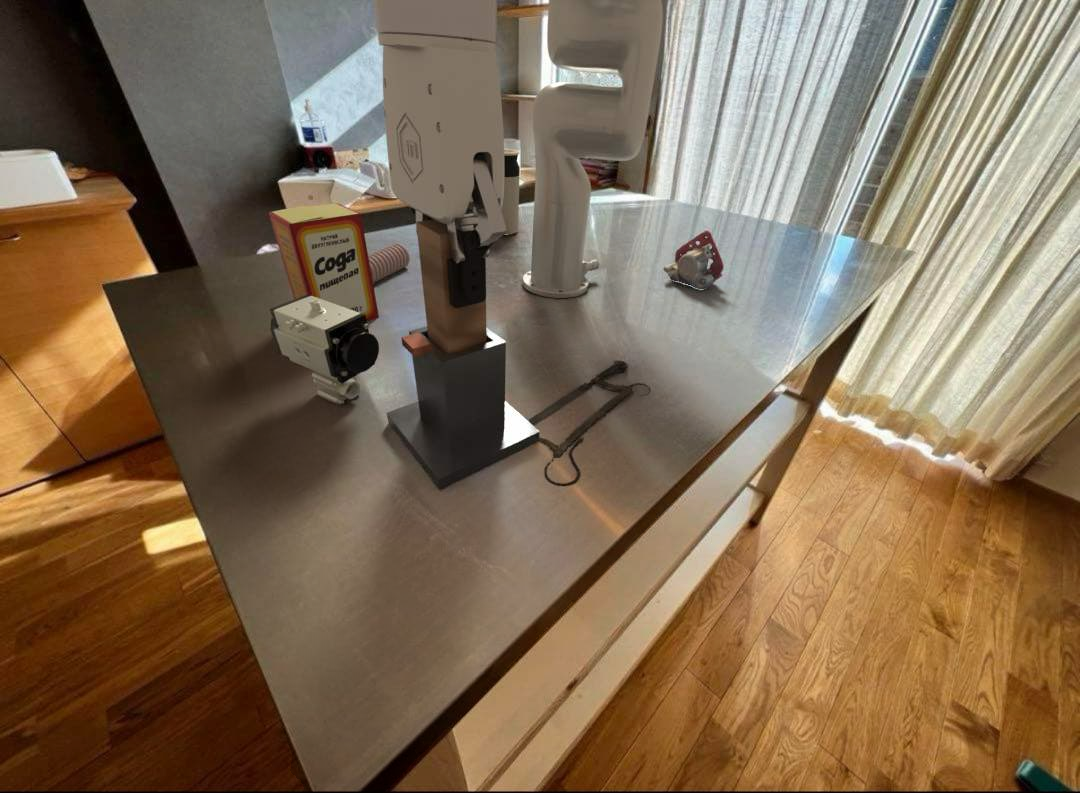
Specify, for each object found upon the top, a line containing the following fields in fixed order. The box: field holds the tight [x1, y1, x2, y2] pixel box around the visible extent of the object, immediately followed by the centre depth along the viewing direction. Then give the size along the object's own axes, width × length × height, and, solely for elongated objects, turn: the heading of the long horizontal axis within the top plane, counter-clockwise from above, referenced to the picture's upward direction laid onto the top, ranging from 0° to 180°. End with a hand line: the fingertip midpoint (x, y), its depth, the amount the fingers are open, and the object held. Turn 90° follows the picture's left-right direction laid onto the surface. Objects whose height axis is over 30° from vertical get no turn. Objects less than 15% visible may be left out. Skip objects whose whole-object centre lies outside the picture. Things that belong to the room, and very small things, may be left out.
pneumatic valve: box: [269, 294, 380, 406], centre depth 48 cm, size 6×12×12 cm, turn 62°
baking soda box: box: [268, 203, 380, 322], centre depth 63 cm, size 10×6×16 cm
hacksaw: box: [526, 359, 651, 487], centre depth 52 cm, size 24×10×2 cm, turn 137°
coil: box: [368, 242, 411, 284], centre depth 80 cm, size 5×5×18 cm
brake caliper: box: [663, 230, 725, 289], centre depth 86 cm, size 11×10×11 cm
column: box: [415, 220, 487, 356], centre depth 40 cm, size 4×4×18 cm
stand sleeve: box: [386, 326, 540, 491], centre depth 44 cm, size 12×12×13 cm
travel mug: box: [501, 148, 521, 234], centre depth 104 cm, size 8×8×18 cm
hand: (454, 291), depth 38 cm, fingers closed on column, 4 cm apart
